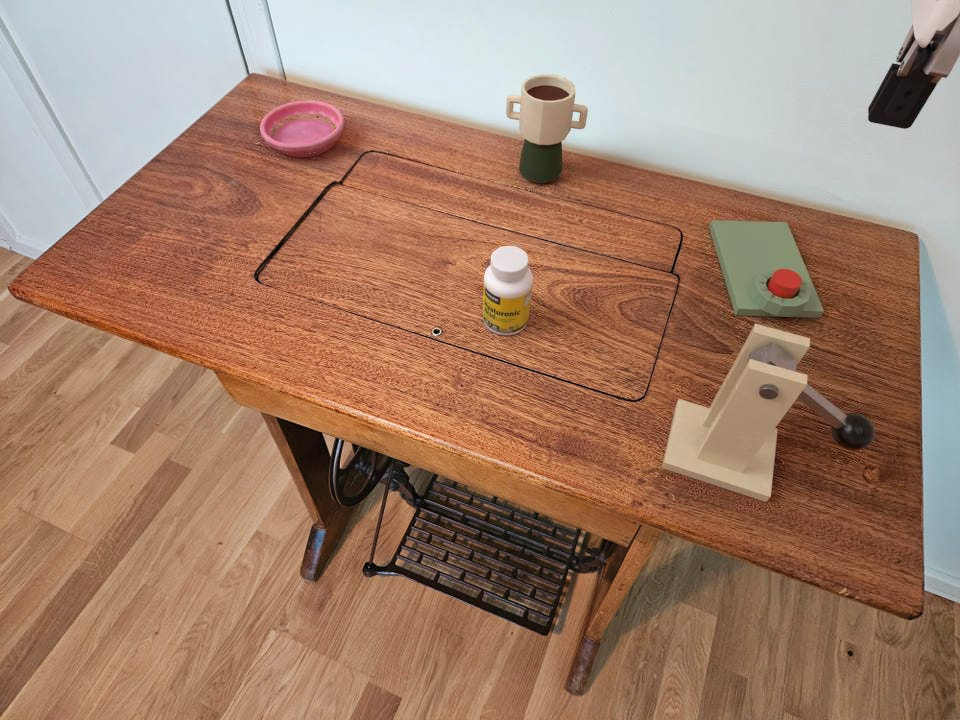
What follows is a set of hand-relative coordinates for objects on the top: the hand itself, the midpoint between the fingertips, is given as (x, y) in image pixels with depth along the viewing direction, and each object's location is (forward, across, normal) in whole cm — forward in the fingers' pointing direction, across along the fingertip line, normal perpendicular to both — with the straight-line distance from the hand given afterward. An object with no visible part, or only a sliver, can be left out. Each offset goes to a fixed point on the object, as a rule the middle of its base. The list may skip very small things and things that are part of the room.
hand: (887, 119), depth 50 cm
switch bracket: (+27, -17, +3) cm, 32 cm away
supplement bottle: (+27, -8, +28) cm, 40 cm away
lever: (+17, -17, -1) cm, 24 cm away
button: (+24, +6, -1) cm, 25 cm away
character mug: (+27, +20, +33) cm, 48 cm away
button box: (+27, +11, +1) cm, 29 cm away
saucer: (+27, +15, +69) cm, 76 cm away
